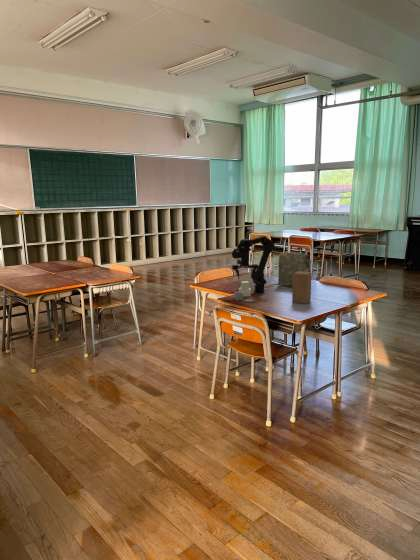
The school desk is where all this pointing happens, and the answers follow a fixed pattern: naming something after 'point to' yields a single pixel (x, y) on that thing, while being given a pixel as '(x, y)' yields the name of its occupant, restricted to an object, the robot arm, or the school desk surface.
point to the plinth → (246, 292)
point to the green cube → (244, 285)
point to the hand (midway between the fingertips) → (244, 278)
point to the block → (301, 287)
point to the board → (249, 300)
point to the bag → (291, 266)
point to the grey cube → (238, 295)
